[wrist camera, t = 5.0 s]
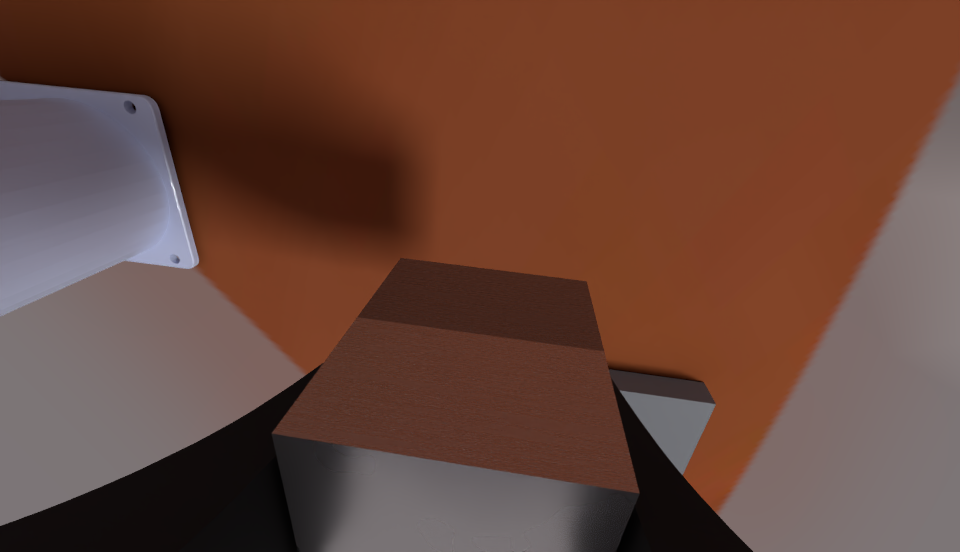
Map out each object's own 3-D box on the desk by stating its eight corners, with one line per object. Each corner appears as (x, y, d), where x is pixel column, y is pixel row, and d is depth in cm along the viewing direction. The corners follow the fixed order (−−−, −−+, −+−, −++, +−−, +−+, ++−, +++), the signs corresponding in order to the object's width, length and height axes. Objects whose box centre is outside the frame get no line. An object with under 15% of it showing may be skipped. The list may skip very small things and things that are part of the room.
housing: (402, 396, 13) (312, 614, 8) (400, 257, 11) (271, 433, 6) (555, 419, 13) (569, 665, 7) (586, 281, 10) (639, 493, 5)
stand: (489, 480, 25) (486, 502, 24) (506, 354, 21) (505, 374, 20) (649, 506, 25) (656, 530, 23) (703, 382, 20) (715, 404, 19)
